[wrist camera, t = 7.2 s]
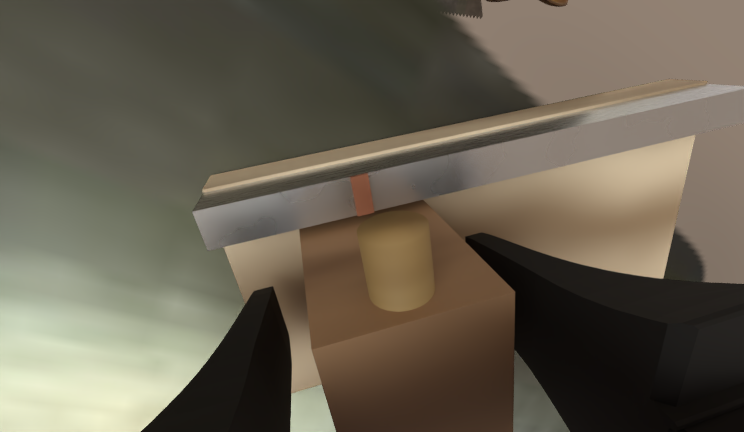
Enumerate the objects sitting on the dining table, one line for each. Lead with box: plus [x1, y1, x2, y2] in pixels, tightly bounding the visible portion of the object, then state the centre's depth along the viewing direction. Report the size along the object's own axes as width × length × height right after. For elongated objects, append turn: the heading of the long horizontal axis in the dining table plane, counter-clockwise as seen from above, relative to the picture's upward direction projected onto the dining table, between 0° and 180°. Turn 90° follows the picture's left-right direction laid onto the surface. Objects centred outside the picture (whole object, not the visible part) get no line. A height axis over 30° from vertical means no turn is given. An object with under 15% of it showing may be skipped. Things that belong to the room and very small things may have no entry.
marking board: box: [192, 79, 744, 393], centre depth 14 cm, size 9×18×3 cm, turn 99°
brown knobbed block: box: [299, 200, 515, 432], centre depth 11 cm, size 8×4×6 cm, turn 9°
